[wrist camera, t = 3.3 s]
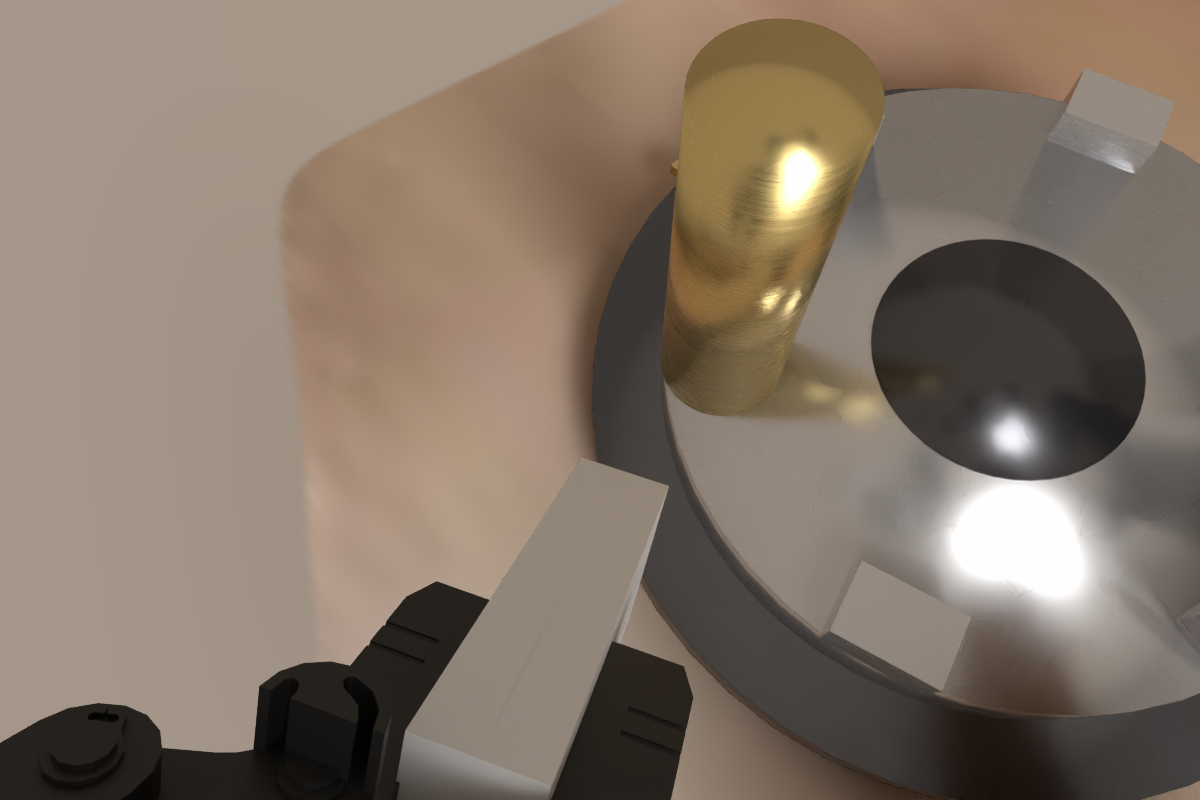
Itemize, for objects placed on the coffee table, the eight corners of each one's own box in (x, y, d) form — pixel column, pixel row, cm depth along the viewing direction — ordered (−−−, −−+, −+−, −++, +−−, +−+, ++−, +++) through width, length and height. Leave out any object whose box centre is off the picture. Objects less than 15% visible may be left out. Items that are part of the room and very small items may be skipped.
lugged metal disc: (1211, 125, 28) (1585, -286, 17) (1418, 715, 21) (2269, 658, 10) (647, 138, 29) (663, -256, 18) (671, 725, 22) (720, 678, 11)
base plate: (1353, 215, 29) (1400, 179, 27) (1331, 946, 21) (1395, 963, 19) (711, 56, 32) (716, 15, 30) (483, 636, 24) (472, 626, 23)
